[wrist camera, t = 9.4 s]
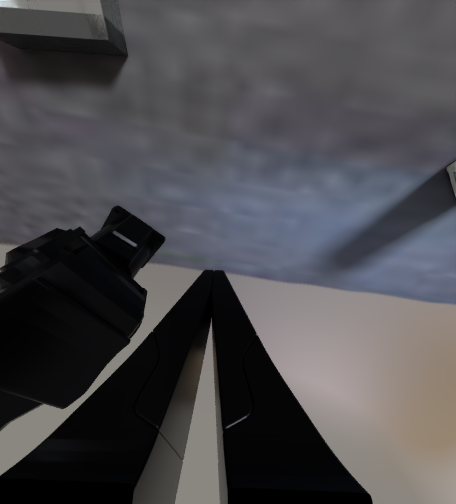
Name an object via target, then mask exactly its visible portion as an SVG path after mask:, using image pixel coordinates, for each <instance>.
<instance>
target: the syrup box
mask: <svg viewBox="0 0 456 504" xmlns="http://www.w3.org/2000/svg"><path fill="white" fill-rule="evenodd" d="M446 169H447V172H448V173H449V176H450V179H451V184H452V187H453V190H454V193H455V197H456V161H455V162H453V163H452V164H451V165H449V166H448V167H447V168H446Z"/></svg>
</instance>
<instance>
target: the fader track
mask: <svg viewBox="0 0 456 504" xmlns="http://www.w3.org/2000/svg"><path fill="white" fill-rule="evenodd" d="M0 40H1V41H3V42H6V43H8V44H10V45H12V46H15V47H17V48H22V49H36V50H50V51H64V52H78V53H92V54H106V55H120V56H128V53H127V48H126V43H125V38H124V33H123V27H122V22H121V17H120V12H119V7H118V1H117V0H0Z"/></svg>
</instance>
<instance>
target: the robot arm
mask: <svg viewBox="0 0 456 504" xmlns="http://www.w3.org/2000/svg"><path fill="white" fill-rule="evenodd" d="M117 209H118V210H119V212H118V211H117ZM159 238H161V239H162V240H160V239H159ZM164 242H165V237H164V236H163V235H161V234H160V233H158V232H157V231H155V230H154V229H152V227H150V226H149V225H147V224H146V223H144V222H143V221H141V220H140V219H138V218H137V217H136V216H134V215H132V214H131V213H129V212H128V211H126V210H125V209H123V208H122V207H120V206H115V207H113V208H112V210H111V212H110V214H109V216H108V218H107V219H106V221H105V223H104V225H103V227H102V228H101V230H100V231H98V232H97V233H96V234H94V235H93V236H91V237H89V236H88V235H87V234H86V233H85V231H84V230H83V229H82V228H81V227H78V228H76V229H75V230H72V229H69V230H67V231H65V230H62V229H58V228H56V229H54V230H52V231H50V232H48V233H46V234H44V235H42V236H40V237H38V238H36V239H34V240H32V241H30V242H28V243H25V244H23V245H21V246H19V247H17V248H15V249H13V250H11V251H9V252H7V253H6V260H5V265H4V266H3V267H1V268H0V271H1V272H0V431H1V430H2V429H3V428H4V427H5V426H7V425H8V424H9V423H10V422H12V421H14V420H15V419H17V418H19V417H21V416H23V415H25V414H26V413H28V412H30V411H32V410H34V409H36V408H38V407H39V406H41V405H43V404H47V405H50V406H53V407H56V408H60V409H64V408H66V407H68V406H69V405H70V404H72V403H73V402H74V401H76V400H77V399H78V398H80V397H81V396H82V395H83V394H84V393H85V392H86V391H87V390H88V389H89V387H90V386H91V385H92V383H93V382H94V381H95V379H96V378H97V377H98V375H99V374H100V373H101V371H102V370H103V369H104V368H105V366H106V365H107V364H108V363H109V362H110V361H111V360H112V359H113V358H114V357H115V356H116V354H117V353H119V352H120V351H121V350H122V349H123V348H124V347H126V346H127V345H128V344H129V343H130V338H132V336H133V335H134V334H135V333H136V331H137V329H138V328H139V327H140V325H141V323H142V319H143V317H144V308H145V303H146V296H147V290H146V289H145V288H142V287H141V286H140V285H139V284H138V283H137V282H136V281H135V280H134V279H133V278H134V277H135V275H136V274H137V272H138V271H139V270H140V268H143V267H144V266H145V265H146V263H147V262H148V261H149V260H150V259H151V257H152V256H153V255H154V254H155V253H156V251H157V250H158V249H159V248H160V247H161V245H162V244H163V243H164ZM211 318H212V339H213V358H214V359H213V360H214V380H215V381H214V383H215V403H216V404H215V405H216V423H217V424H216V426H217V446H218V460H219V461H218V469H219V492H220V504H373V503H372V498H371V496H370V494H369V493H367V491H366V490H365V489H364V488H363V487H362V486H361V485H360V484H359V483H358V482H357V481H356V479H355V478H354V477H353V476H352V475H351V474H350V473H349V471H348V470H347V469H346V468H345V467H344V466H343V464H342V463H341V462H340V461H339V459H338V458H337V457H336V456H335V454H334V453H333V452H332V450H331V449H330V448H329V446H328V445H327V443H326V442H325V441H324V439H323V438H322V436H321V435H320V433H319V432H318V430H317V429H316V427H315V426H314V424H313V423H312V422H311V420H310V418H309V417H308V415H307V414H306V412H305V411H304V410H303V408H302V407H301V405H300V403H299V402H298V400H297V399H296V398H295V396H294V394H293V393H292V391H291V390H290V388H289V387H288V385H287V384H286V383H285V381H284V379H283V378H282V376H281V375H280V373H279V372H278V370H277V368H276V367H275V365H274V364H273V362H272V360H271V359H270V357H269V355H268V353H267V352H266V350H265V348H264V346H263V344H262V342H261V341H260V339H259V337H258V335H256V331H255V329H254V327H253V326H252V324H251V322H250V320H249V318H248V316H247V314H246V312H245V310H244V309H243V307H242V305H241V303H240V301H239V299H238V297H237V295H236V293H235V292H234V290H233V288H232V286H231V284H230V282H229V280H228V278H227V276H226V274H225V272H224V271H223V270H215V271H214V270H204V271H203V272H202V274H201V275H200V276H199V277H198V278H197V279H196V281H195V282H194V283H193V284H192V286H190V288H189V289H188V290H187V291H186V292H185V293H184V295H183V296H182V297H181V298H180V299H179V300H178V302H177V303H176V304H175V305H174V306H173V307H172V309H171V310H170V311H169V312H168V313H167V314H166V315H165V317H164V318H163V319H162V320H161V322H159V324H158V325H157V326H156V327H155V328H154V329H153V332H151V333H150V334H149V335H148V336H147V338H146V339H145V340H144V341H143V342H142V344H140V346H139V347H138V348H137V349H136V350H135V351H134V352H133V353H132V354H131V356H130V357H129V358H128V359H127V360H126V361H125V362H124V363H123V364H122V365H121V366H120V367H119V368H118V369H117V370H116V371H115V372H114V373H113V374H112V375H111V376H110V377H109V378H108V379H107V380H106V381H105V382H104V383H103V384H102V385H101V386H100V387H99V388H98V389H97V390H96V391H95V392H94V393H93V394H92V395H91V396H90V397H89V398H88V399H86V400H85V402H83V403H82V404H81V405H80V406H79V407H78V408H77V409H76V410H75V411H74V412H73V413H72V414H71V415H70V416H69V417H68V418H67V419H66V420H65V421H64V422H63V423H62V424H61V425H60V426H59V427H58V428H57V429H56V430H55V431H54V432H53V433H52V434H51V435H50V436H49V437H48V438H46V439H45V440H44V441H43V442H42V443H41V444H40V445H38V446H37V447H36V448H35V449H34V450H33V451H31V452H30V453H29V454H28V455H27V456H25V457H24V458H23V459H22V460H20V461H19V462H18V463H17V464H16V465H14V466H13V467H11V468H10V469H9V470H7V471H6V472H5V473H3V474H2V475H1V476H0V504H175V499H176V493H177V489H178V484H179V479H180V473H181V469H182V464H183V461H182V460H183V459H184V453H185V448H186V444H187V439H188V434H189V429H190V424H191V419H192V414H193V409H194V404H195V399H196V393H197V389H198V384H199V379H200V374H201V369H202V364H203V359H204V354H205V349H206V344H207V339H208V334H209V329H210V324H211Z"/></svg>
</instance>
